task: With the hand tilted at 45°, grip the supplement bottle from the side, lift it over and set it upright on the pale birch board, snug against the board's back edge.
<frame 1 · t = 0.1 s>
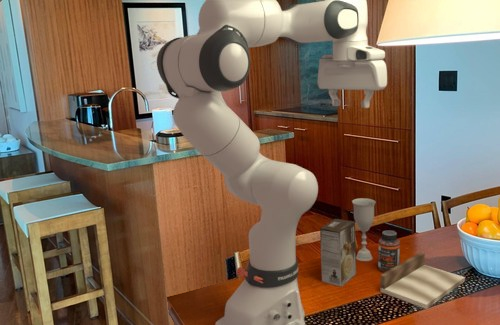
hand: (350, 106, 128), 48 cm above the table, tool pointing down, fingers open, 8 cm apart
chalice: (364, 258, 149), on the table
supplement bottle: (388, 269, 140), on the table
coffee box: (339, 278, 137), on the table
edge board: (423, 286, 129), on the table
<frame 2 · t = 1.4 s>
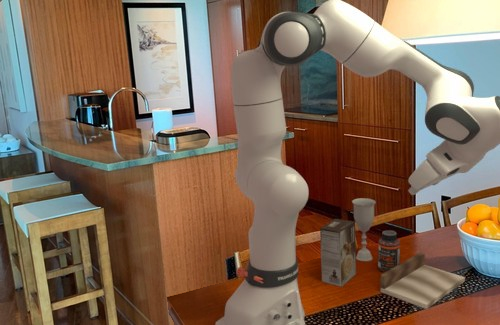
hand: (422, 187, 124), 27 cm above the table, tool tilted 45°, fingers open, 8 cm apart
nothing on the table moved.
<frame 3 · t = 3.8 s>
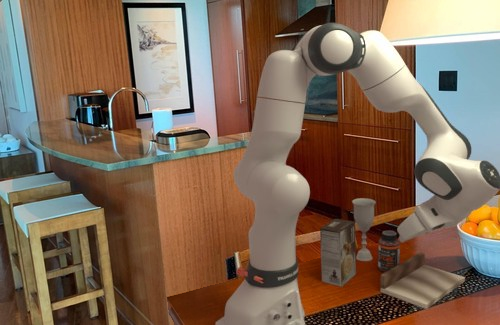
hand: (413, 235, 131), 13 cm above the table, tool tilted 45°, fingers open, 8 cm apart
nothing on the table moved.
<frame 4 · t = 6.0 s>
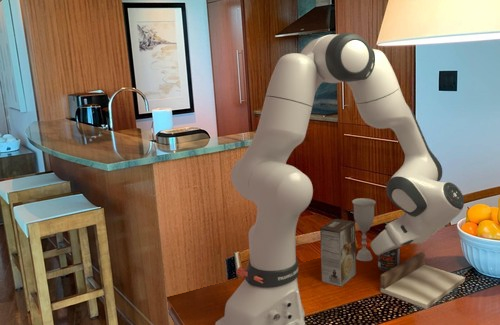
hand: (387, 249, 140), 6 cm above the table, tool tilted 45°, fingers closed on supplement bottle, 6 cm apart
supplement bottle: (388, 269, 140), on the table, touching gripper
everything else where it was.
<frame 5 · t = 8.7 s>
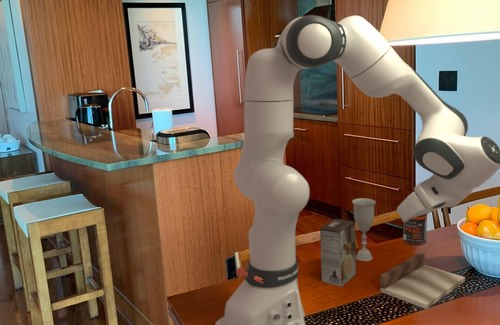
hand: (413, 216, 128), 19 cm above the table, tool tilted 45°, fingers closed on supplement bottle, 6 cm apart
supplement bottle: (414, 243, 129), point 11 cm above the table, touching gripper
everything else where it was.
when the fingers open (9 cm above the table, at t = 11.2 s): supplement bottle stays where it is, resting on edge board.
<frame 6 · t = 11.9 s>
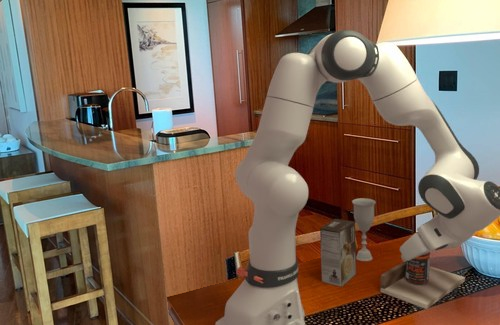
hand: (415, 253, 129), 9 cm above the table, tool tilted 45°, fingers open, 8 cm apart
supplement bottle: (417, 281, 130), point 1 cm above the table, touching edge board
everything else where it was.
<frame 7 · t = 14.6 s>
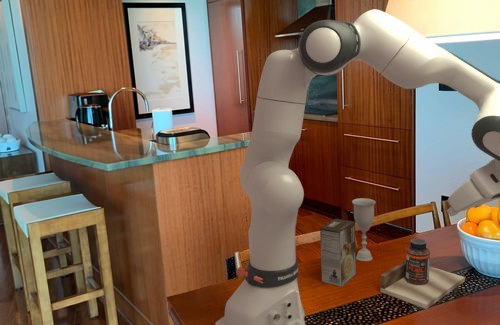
hand: (462, 209, 115), 24 cm above the table, tool tilted 45°, fingers open, 8 cm apart
nothing on the table moved.
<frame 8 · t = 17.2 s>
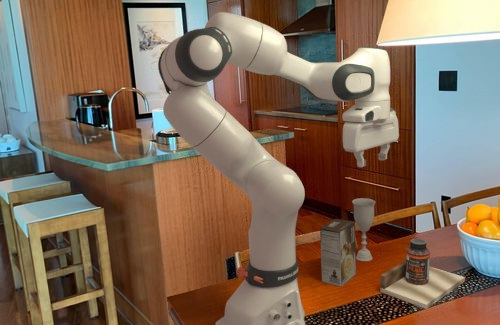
hand: (372, 163, 128), 33 cm above the table, tool pointing down, fingers open, 8 cm apart
nothing on the table moved.
at the end: supplement bottle inside the target area on the edge board (0.7 cm from its centre), point 1.0 cm above the edge board's base; supplement bottle tilted 0°; the gripper is holding nothing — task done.
